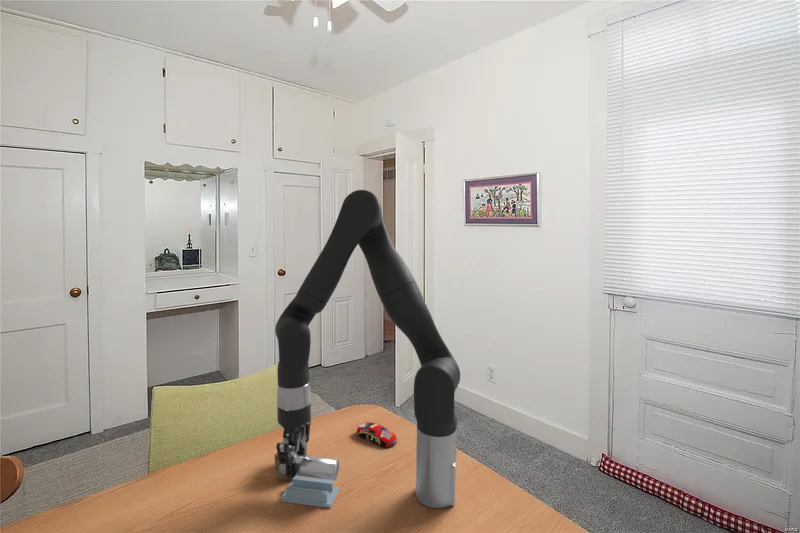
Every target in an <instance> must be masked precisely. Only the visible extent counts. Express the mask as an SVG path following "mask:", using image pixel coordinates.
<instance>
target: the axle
mask: <svg viewBox="0 0 800 533" xmlns="http://www.w3.org/2000/svg"><path fill="white" fill-rule="evenodd" d="M291 457H292V454H291ZM279 470H280V473H282V474H286V465H284V464H280V466H279ZM339 470H340V460H339V459H337V458H331V457H330V458H328V457H321V456H312V455H307V456H306V455H298V454H296V476H300V477H308V478H317V479H325V480H333V481H334V482H335V481H336V480H337V478H338V476H339Z"/></svg>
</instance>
